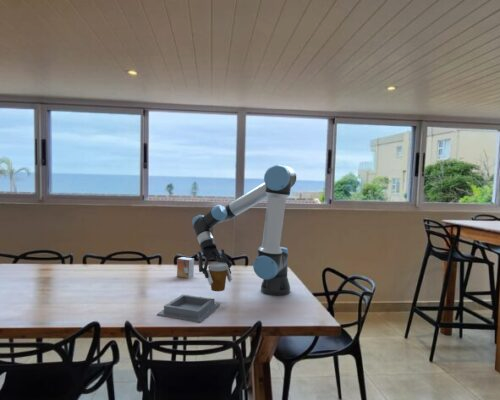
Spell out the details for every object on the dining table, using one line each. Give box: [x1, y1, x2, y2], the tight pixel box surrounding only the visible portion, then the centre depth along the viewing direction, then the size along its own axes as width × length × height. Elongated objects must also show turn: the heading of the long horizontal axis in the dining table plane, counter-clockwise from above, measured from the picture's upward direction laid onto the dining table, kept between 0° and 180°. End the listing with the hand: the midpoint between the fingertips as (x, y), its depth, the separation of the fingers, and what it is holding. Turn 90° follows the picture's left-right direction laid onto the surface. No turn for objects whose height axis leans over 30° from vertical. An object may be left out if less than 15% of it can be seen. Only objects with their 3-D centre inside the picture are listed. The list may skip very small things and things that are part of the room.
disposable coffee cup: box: [207, 261, 228, 292], centre depth 169 cm, size 10×10×12 cm
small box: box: [176, 256, 195, 279], centre depth 207 cm, size 8×6×10 cm
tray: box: [156, 294, 221, 323], centre depth 155 cm, size 20×20×4 cm
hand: (221, 282), depth 166 cm, fingers closed on disposable coffee cup, 9 cm apart
